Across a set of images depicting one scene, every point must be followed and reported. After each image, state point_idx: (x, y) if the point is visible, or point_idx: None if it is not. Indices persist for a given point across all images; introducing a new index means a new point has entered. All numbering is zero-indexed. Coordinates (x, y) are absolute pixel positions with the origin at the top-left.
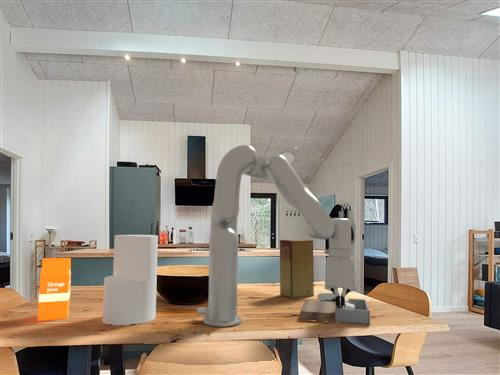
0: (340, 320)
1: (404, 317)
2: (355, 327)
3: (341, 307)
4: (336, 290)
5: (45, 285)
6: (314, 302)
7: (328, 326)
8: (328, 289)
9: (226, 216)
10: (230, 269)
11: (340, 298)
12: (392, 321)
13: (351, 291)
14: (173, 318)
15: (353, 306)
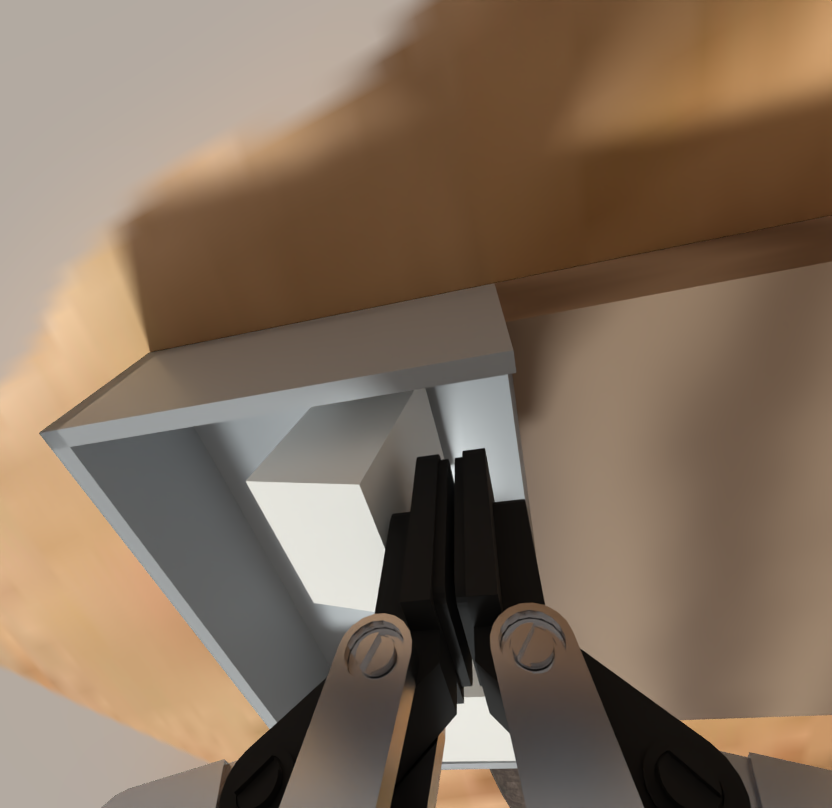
0: (434, 302)
1: (68, 630)
2: (230, 183)
3: (432, 458)
4: (554, 754)
5: None
6: (778, 674)
7: (560, 34)
8: (803, 785)
9: None
10: None
11: (512, 747)
12: (70, 527)
13: (210, 767)
14: None
15: (275, 515)
